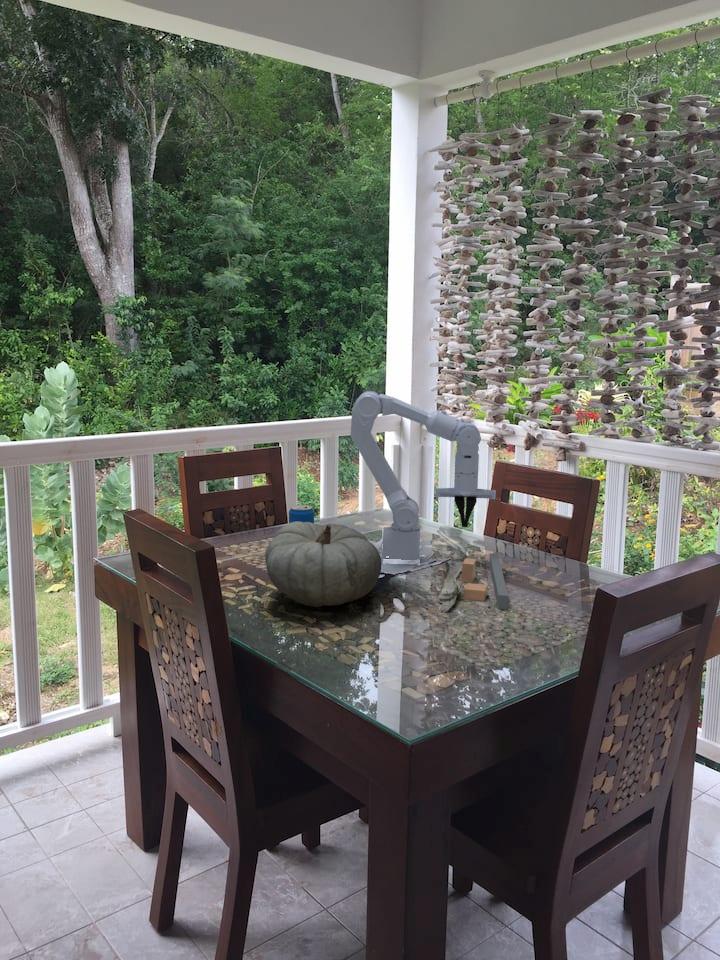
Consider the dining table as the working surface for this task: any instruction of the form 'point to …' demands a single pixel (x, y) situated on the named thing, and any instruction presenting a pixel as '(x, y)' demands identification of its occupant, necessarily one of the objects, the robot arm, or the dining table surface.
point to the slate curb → (498, 582)
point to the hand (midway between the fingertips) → (464, 526)
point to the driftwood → (450, 585)
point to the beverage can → (301, 514)
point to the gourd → (322, 563)
